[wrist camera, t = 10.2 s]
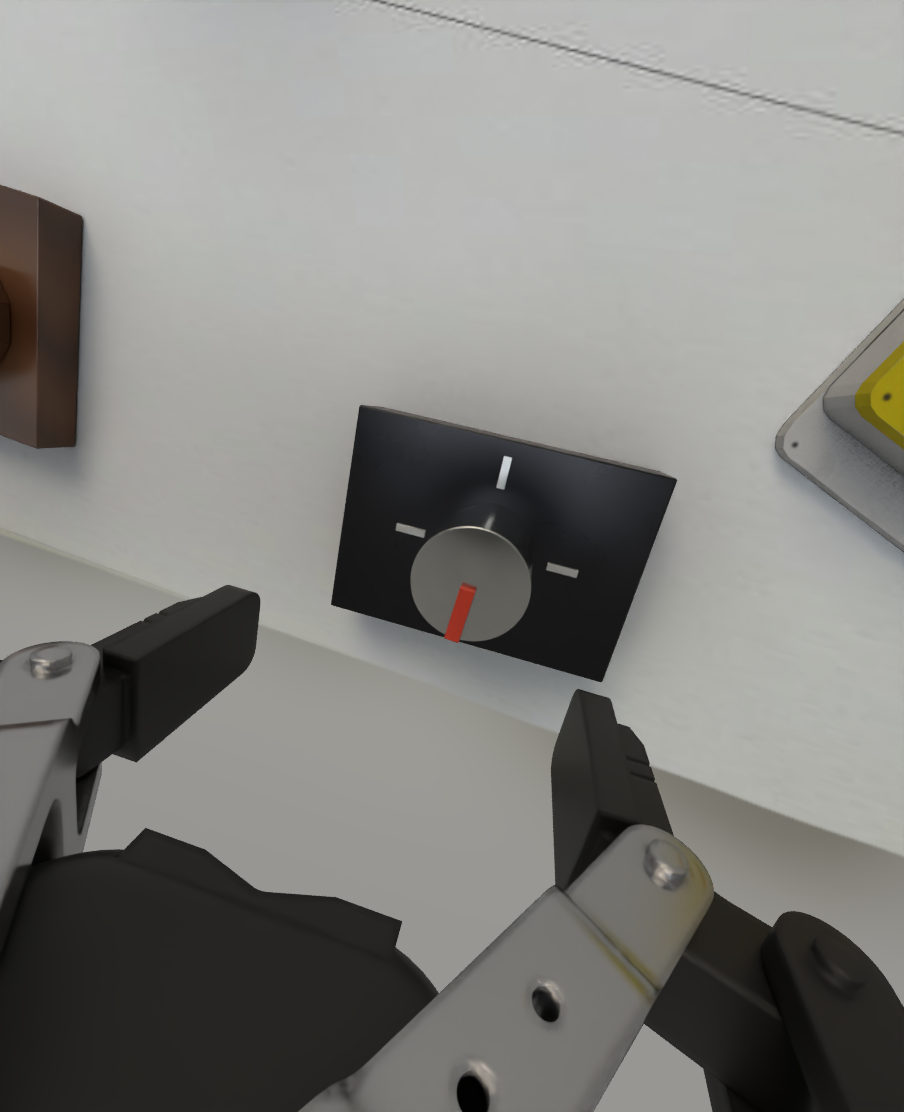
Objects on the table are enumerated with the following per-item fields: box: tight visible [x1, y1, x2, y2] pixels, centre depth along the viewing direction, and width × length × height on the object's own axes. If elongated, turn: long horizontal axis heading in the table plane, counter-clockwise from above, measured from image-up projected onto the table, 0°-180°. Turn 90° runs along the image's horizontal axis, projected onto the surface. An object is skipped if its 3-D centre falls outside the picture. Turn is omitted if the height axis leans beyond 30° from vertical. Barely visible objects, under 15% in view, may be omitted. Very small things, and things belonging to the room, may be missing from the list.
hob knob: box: [410, 502, 533, 643], centre depth 19 cm, size 4×4×5 cm
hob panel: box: [331, 405, 677, 682], centre depth 23 cm, size 14×10×3 cm
